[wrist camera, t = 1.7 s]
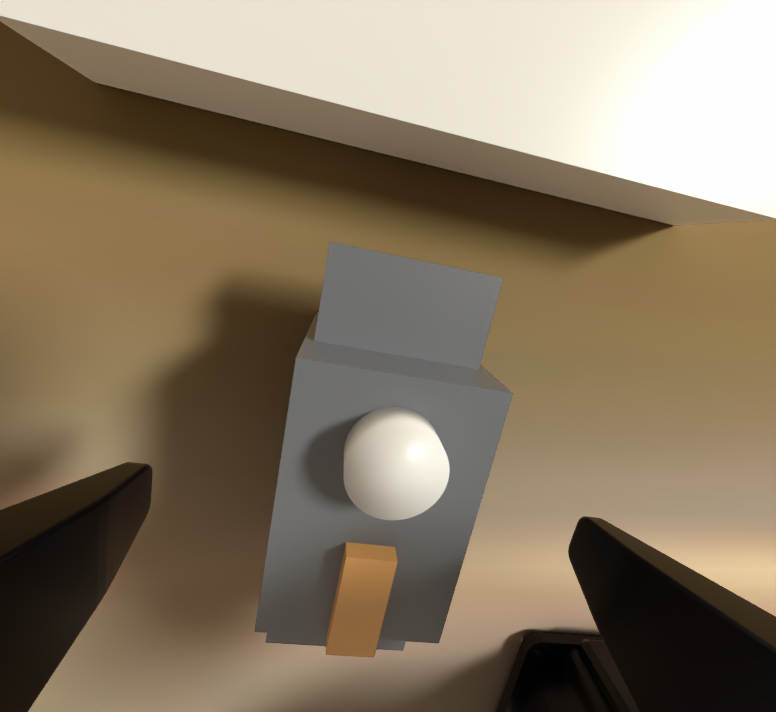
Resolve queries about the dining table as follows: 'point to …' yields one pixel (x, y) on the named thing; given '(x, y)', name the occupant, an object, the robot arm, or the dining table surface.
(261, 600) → the servo
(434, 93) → the white square base plate
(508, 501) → the dining table surface
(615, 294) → the dining table surface
